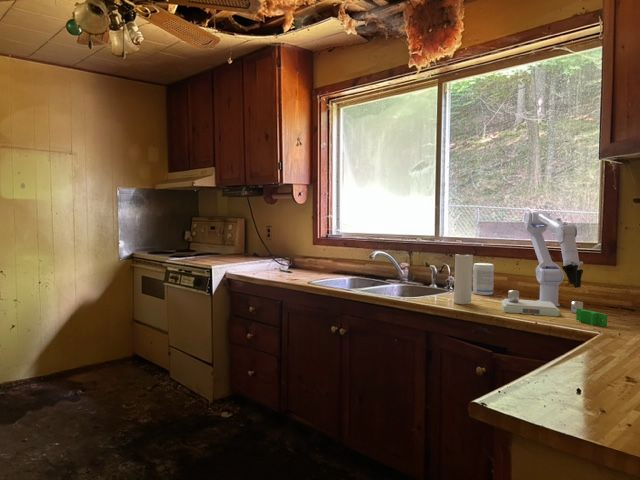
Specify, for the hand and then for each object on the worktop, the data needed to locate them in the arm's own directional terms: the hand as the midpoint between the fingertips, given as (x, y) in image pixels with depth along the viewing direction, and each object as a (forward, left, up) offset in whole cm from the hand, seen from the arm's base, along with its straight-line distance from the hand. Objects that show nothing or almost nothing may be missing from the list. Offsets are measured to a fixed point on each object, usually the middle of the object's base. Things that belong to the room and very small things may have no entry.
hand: (575, 285), depth 186 cm
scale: (+1, -17, -11) cm, 20 cm away
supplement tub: (-34, -34, -11) cm, 49 cm away
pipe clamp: (+17, +2, -12) cm, 20 cm away
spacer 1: (+1, -23, -8) cm, 24 cm away
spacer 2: (-2, +1, -11) cm, 12 cm away
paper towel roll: (-4, -43, -11) cm, 44 cm away
